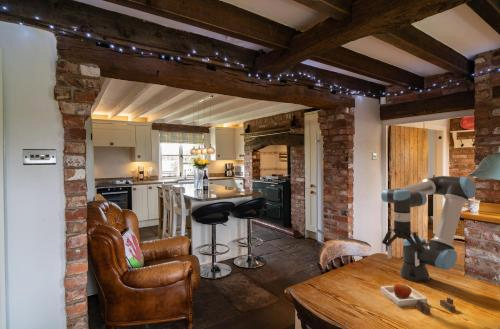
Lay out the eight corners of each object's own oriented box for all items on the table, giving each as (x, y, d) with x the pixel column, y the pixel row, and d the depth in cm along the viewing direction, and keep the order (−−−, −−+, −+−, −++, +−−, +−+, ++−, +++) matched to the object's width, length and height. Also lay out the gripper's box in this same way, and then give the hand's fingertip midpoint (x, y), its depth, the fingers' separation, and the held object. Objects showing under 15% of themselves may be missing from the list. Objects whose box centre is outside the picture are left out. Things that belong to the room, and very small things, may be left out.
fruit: (387, 293, 144) (392, 278, 146) (396, 297, 147) (401, 283, 149) (402, 300, 137) (407, 284, 138) (411, 304, 140) (416, 289, 141)
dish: (406, 290, 151) (406, 284, 151) (427, 304, 136) (427, 298, 136) (380, 292, 150) (380, 286, 150) (398, 307, 135) (398, 300, 135)
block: (446, 304, 136) (446, 295, 136) (456, 311, 130) (456, 301, 130) (414, 307, 134) (414, 298, 134) (424, 314, 128) (423, 304, 128)
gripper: (374, 217, 150) (375, 256, 151) (426, 226, 130) (426, 271, 130) (382, 215, 154) (382, 253, 155) (432, 223, 134) (433, 266, 135)
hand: (402, 261), depth 143 cm, fingers open, 13 cm apart
